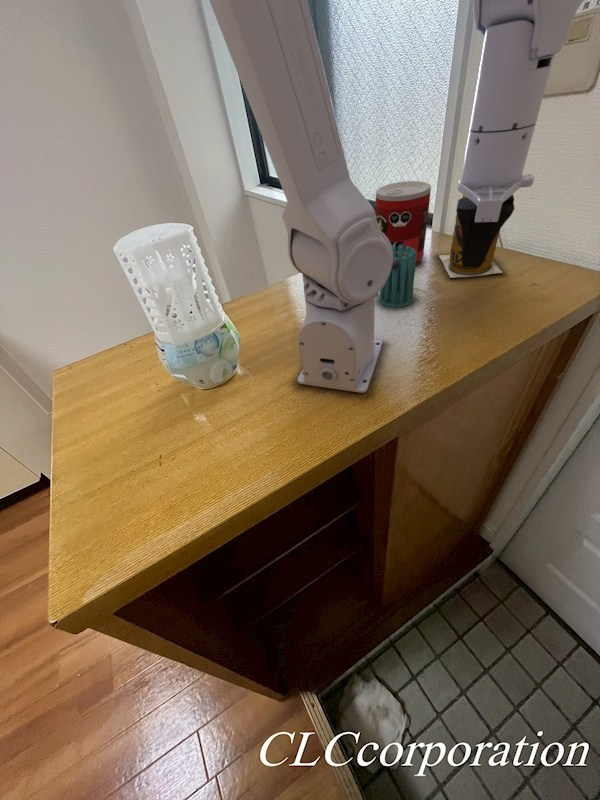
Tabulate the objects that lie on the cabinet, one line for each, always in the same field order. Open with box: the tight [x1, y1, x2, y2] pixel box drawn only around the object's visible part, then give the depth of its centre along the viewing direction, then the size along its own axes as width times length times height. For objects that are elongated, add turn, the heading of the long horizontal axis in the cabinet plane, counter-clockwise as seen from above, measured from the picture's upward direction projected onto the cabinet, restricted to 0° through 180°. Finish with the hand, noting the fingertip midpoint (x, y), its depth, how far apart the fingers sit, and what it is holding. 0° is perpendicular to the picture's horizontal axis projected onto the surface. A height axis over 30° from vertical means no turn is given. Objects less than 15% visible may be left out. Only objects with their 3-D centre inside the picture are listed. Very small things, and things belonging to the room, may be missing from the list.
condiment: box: [438, 194, 503, 279], centre depth 50 cm, size 7×8×12 cm
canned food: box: [374, 180, 432, 266], centre depth 55 cm, size 8×8×11 cm
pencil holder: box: [379, 244, 417, 308], centre depth 47 cm, size 7×6×5 cm
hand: (471, 264), depth 42 cm, fingers closed
